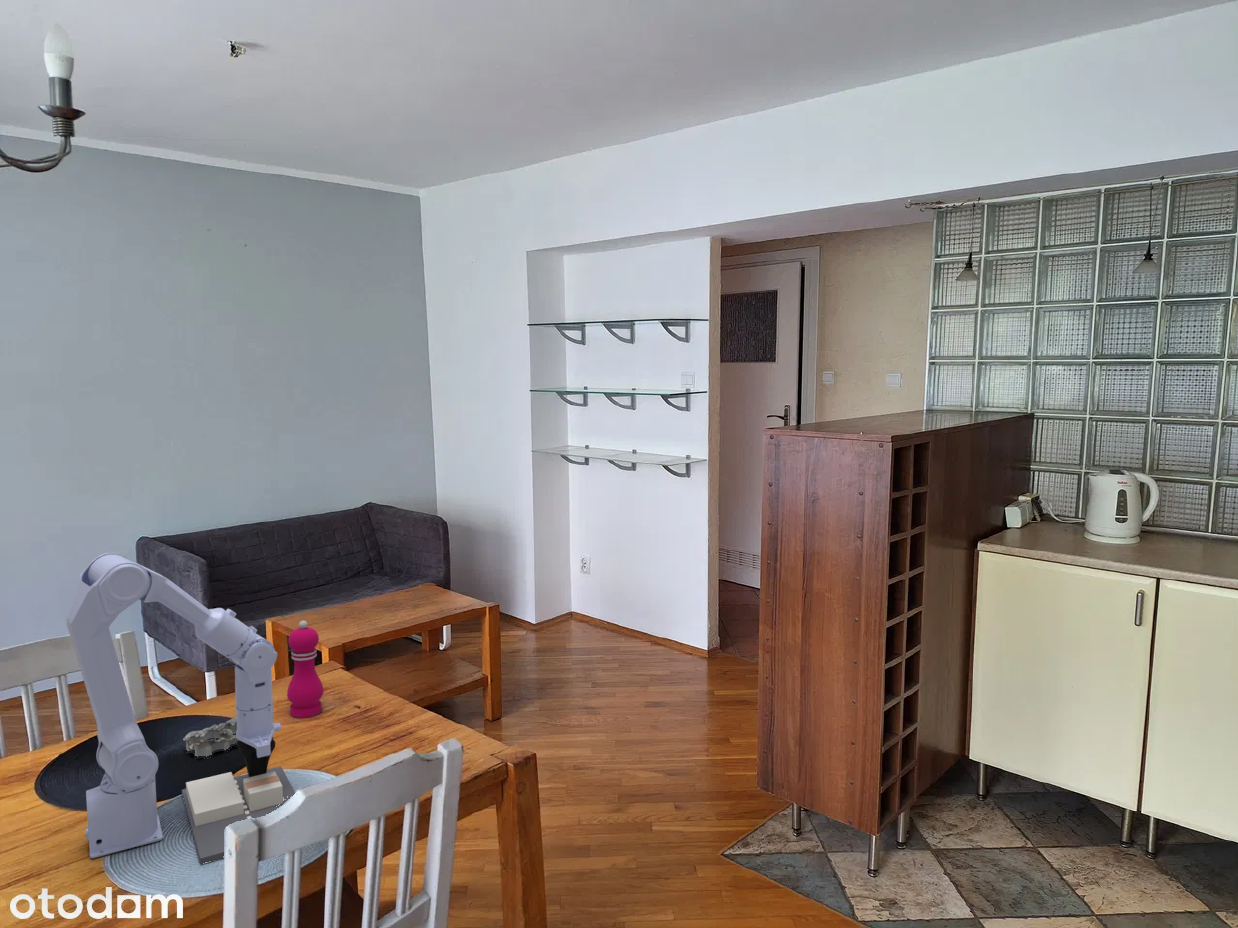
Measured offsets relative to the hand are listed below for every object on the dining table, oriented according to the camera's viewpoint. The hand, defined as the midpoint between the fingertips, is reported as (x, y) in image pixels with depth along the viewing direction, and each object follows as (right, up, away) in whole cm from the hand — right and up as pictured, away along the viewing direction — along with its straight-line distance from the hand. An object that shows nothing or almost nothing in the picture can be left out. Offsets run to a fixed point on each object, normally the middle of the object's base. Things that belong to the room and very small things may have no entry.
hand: (257, 780), depth 142 cm
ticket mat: (+1, -3, -6) cm, 7 cm away
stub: (+3, -2, -4) cm, 5 cm away
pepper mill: (-5, +1, +34) cm, 35 cm away
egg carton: (-15, -1, +18) cm, 24 cm away
